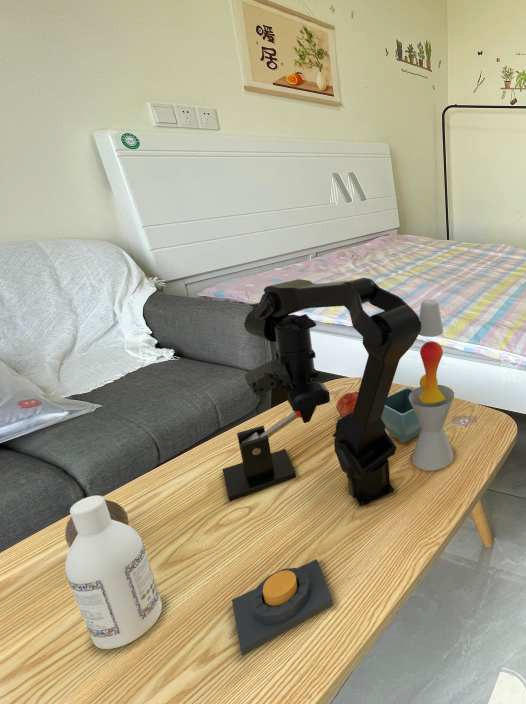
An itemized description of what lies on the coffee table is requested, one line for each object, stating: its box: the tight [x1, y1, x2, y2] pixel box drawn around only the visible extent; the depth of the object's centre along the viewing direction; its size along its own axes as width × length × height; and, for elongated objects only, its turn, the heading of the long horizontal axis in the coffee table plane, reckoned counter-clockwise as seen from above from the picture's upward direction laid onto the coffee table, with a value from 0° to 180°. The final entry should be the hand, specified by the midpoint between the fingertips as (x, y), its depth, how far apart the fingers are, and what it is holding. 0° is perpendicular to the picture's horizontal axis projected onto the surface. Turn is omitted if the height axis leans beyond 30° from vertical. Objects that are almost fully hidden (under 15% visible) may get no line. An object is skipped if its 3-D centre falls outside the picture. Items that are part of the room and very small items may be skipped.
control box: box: [231, 558, 334, 656], centre depth 60 cm, size 11×8×3 cm
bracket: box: [221, 425, 297, 503], centre depth 83 cm, size 11×9×9 cm
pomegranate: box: [335, 391, 359, 419], centre depth 102 cm, size 7×7×10 cm
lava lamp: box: [409, 298, 455, 472], centre depth 86 cm, size 9×9×35 cm
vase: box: [64, 499, 130, 549], centre depth 67 cm, size 7×7×9 cm
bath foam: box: [64, 494, 163, 650], centre depth 54 cm, size 7×7×20 cm
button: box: [263, 570, 297, 606], centre depth 60 cm, size 4×4×2 cm
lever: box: [242, 411, 302, 443], centre depth 84 cm, size 13×3×3 cm, turn 129°
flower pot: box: [381, 387, 422, 443], centre depth 98 cm, size 9×9×9 cm
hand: (304, 418), depth 87 cm, fingers closed on lever, 3 cm apart
